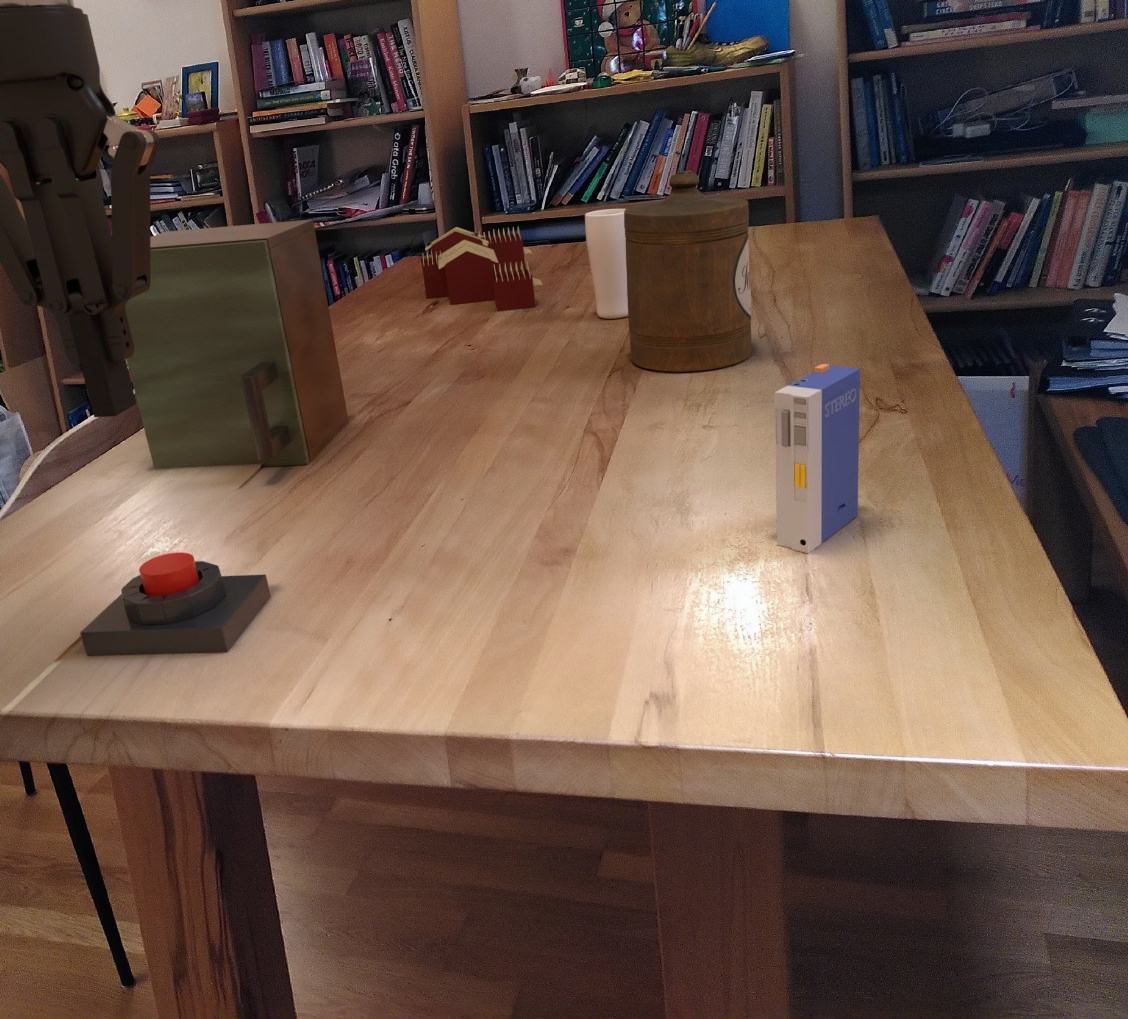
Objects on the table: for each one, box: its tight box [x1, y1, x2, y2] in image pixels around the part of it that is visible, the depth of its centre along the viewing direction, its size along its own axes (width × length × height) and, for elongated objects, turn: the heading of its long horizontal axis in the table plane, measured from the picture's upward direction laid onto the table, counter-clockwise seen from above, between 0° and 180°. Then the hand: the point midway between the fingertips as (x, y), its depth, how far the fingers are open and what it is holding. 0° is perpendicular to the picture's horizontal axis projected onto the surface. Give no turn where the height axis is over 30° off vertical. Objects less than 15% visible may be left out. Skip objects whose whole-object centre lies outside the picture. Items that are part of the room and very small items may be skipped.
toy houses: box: [420, 226, 544, 312], centre depth 184 cm, size 45×20×10 cm, turn 7°
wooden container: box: [624, 170, 752, 373], centre depth 125 cm, size 15×15×22 cm
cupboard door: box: [125, 240, 311, 470], centre depth 98 cm, size 6×16×22 cm, turn 84°
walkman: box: [774, 363, 861, 554], centre depth 76 cm, size 8×3×12 cm, turn 139°
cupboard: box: [150, 219, 350, 463], centre depth 107 cm, size 13×16×22 cm
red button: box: [138, 551, 199, 596], centre depth 72 cm, size 4×4×2 cm
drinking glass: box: [584, 208, 628, 320], centre depth 152 cm, size 7×7×15 cm
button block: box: [79, 560, 272, 657], centre depth 72 cm, size 10×8×4 cm
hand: (115, 410), depth 67 cm, fingers closed
